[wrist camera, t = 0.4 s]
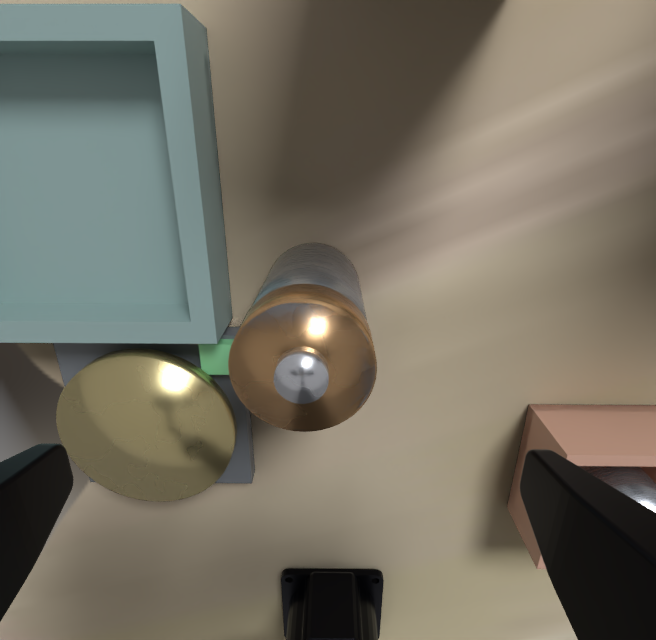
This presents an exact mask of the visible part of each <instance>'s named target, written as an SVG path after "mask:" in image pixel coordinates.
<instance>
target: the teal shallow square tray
mask: <svg viewBox="0 0 656 640" xmlns="http://www.w3.org/2000/svg"><path fill="white" fill-rule="evenodd" d="M232 318H233V317H232V306H231V295H230V284H229V273H228V262H227V251H226V240H225V229H224V218H223V207H222V195H221V184H220V173H219V162H218V151H217V140H216V129H215V118H214V107H213V96H212V85H211V74H210V62H209V51H208V40H207V29H206V27H205V26H204V25H202V24H201V23H200V22H199V21H198V20H197V19H196V18H195V17H194V16H193V15H192V14H191V13H190V12H189V11H188V10H187V9H185V8H184V7H183V6H182V5H181V4H0V343H4V342H5V343H158V344H217V343H218V341H219V340H220V338H221V336H222V335H223V333H224V331H225V330H226V328H227V326H228V324H229V323H230V321H231V319H232Z"/></svg>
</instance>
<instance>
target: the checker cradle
mask: <svg viewBox="0 0 656 640" xmlns="http://www.w3.org/2000/svg"><path fill="white" fill-rule="evenodd" d="M239 328H240V327H227V328H226V330H225V331H224V333H223V335H222V336H221V338H220V340H219V341H218V343H217V344H158V343H53V345H54V348H55V352H56V356H57V360H58V363H59V367H60V371H61V374H62V378H63V382H64V386H66V385H67V384H68V382H69V381H70V380H71V379H72V378H73V377H74V376H75V375H76V374H77V373H78V372H79V371H80V370H82V369H83V368H84V367H85V366H86V365H87V364H89V363H90V362H92V361H93V360H95V359H96V358H98V357H100V356H102V355H105V354H108V353H111V352H114V351H118V350H124V349H136V348H140V349H152V350H158V351H163V352H166V353H170V354H173V355H176V356H178V357H180V358H183V359H185V360H187V361H189V362H191V363H192V364H194V365H196V366H197V367H199V368H200V369H202V370H203V371H204V372H206V373H207V374H208V375H209V376H210V377H211V378H212V379H214V380H215V382H216V383H217V384H218V385H219V386H220V387H221V388H222V390H223V391H224V393H225V394H226V396H227V397H228V399H229V401H230V403H231V405H232V408H233V411H234V414H235V418H236V423H237V437H236V444H235V447H234V450H233V453H232V456H231V459H230V462H229V464H228V466H227V468H226V470H225V471H224V473H223V474H222V475H221V477H220V478H219V479H218V480H217V481H216V482H215V483H252V481H253V477H254V473H255V465H254V452H253V440H252V427H251V415H250V410H248V409H247V408H246V406H245V405H244V404H243V403H242V402H241V400H240V399H239V397H238V396H237V394H236V392H235V390H234V388H233V386H232V383H231V380H230V376H229V370H228V359H229V352H230V348H231V345H232V342H233V340H234V338H235V336H236V334H237V332H238V330H239ZM89 478H90V477H89ZM90 482H96V481H94V480H93V479H91V478H90Z"/></svg>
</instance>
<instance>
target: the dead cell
mask: <svg viewBox="0 0 656 640" xmlns="http://www.w3.org/2000/svg"><path fill="white" fill-rule="evenodd" d="M579 467H580V468H582V469H584V470H585V471H587V472H589V473H590V474H592V475H594V476H595V477H597V478H599V479H600V480H602V481H604V482H605V483H607V484H609V485H610V486H612V487H614V488H615V489H617V490H619V491H620V492H622V493H624V494H625V495H627V496H629V497H630V498H632V499H634V500H635V501H637V502H639V503H640V504H642V505H644V506H645V507H647V508H649V509H650V510H652V511H654V512H655V513H656V483H655V482H654V481H653V480H652V479H651V478H650V477H649V476H648V475H647V474H646V473H645V472H644V470H643V469H642V468H641V467H640V466H579Z"/></svg>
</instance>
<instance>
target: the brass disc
mask: <svg viewBox="0 0 656 640" xmlns="http://www.w3.org/2000/svg"><path fill="white" fill-rule="evenodd" d="M56 420H57V428H58V433H59V436H60V439H61V442H62V444H63V446H64V447H65V448H66V451H67V453H68V455H69V456H70V457H71V459H72V460H73V461H74V462H75V464H76V465H77V466H78V467H79V468H80V469H81V470H82V471H83V472H84V473H85V474H86V475H88V476H89V477H90V478H91V479H93V480H94V481H96V482H97V483H99V484H100V485H102V486H104V487H105V488H107V489H109V490H111V491H114V492H116V493H118V494H121V495H124V496H127V497H131V498H135V499H139V500H145V501H158V502H161V501H174V500H180V499H184V498H188V497H191V496H193V495H196V494H198V493H200V492H202V491H204V490H206V489H207V488H208V487H210V486H211V485H213V484H214V483H215V482H216V481H217V480H218V479H219V478H220V477H221V475H222V474H223V473H224V471H225V470H226V468H227V466H228V464H229V462H230V459H231V456H232V453H233V450H234V447H235V444H236V437H237V423H236V418H235V414H234V411H233V408H232V405H231V403H230V401H229V399H228V397H227V396H226V394H225V393H224V391H223V390H222V388H221V387H220V386H219V385H218V384H217V383H216V382H215V380H214V379H212V378H211V377H210V376H209V375H208V374H207V373H206V372H204V371H203V370H202V369H200V368H199V367H197V366H196V365H194V364H192V363H191V362H189V361H187V360H185V359H183V358H180V357H178V356H176V355H173V354H170V353H166V352H163V351H158V350H152V349H140V348H136V349H124V350H118V351H114V352H111V353H108V354H105V355H102V356H100V357H98V358H96V359H95V360H93V361H92V362H90V363H89V364H87V365H86V366H85V367H84V368H83V369H82V370H80V371H79V372H78V373H77V374H76V375H75V376H74V377H73V378H72V379H71V380H70V381H69V382H68V384H67V385H66V386H65V388H64V389H63V391H62V394H61V396H60V398H59V401H58V405H57V413H56Z"/></svg>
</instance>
